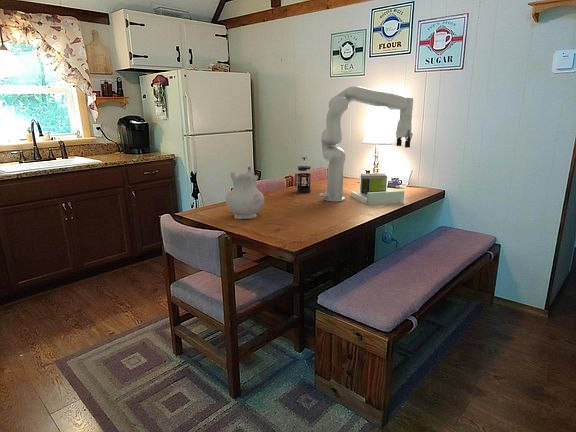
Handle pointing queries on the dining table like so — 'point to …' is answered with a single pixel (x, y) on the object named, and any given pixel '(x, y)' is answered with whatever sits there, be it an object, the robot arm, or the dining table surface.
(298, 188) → the french press
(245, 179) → the ceramic pitcher
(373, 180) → the tea box
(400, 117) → the robot arm
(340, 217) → the dining table surface
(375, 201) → the bay
